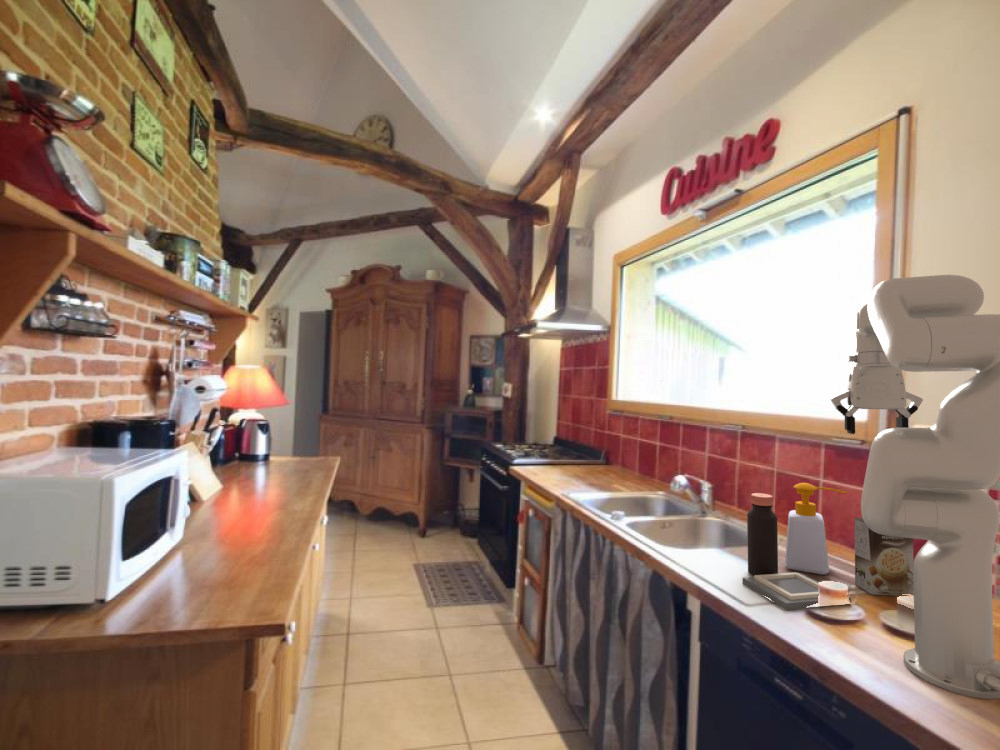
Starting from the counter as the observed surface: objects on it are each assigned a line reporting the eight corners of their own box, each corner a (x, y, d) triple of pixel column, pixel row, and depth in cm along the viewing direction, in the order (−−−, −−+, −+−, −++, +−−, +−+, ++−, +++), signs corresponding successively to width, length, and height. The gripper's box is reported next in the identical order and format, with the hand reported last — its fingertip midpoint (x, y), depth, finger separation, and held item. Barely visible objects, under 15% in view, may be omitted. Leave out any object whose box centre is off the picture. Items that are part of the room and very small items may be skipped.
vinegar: (774, 570, 124) (773, 493, 124) (781, 580, 117) (780, 499, 118) (745, 567, 126) (744, 491, 126) (750, 577, 120) (749, 497, 120)
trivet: (850, 604, 105) (850, 593, 105) (786, 610, 102) (785, 599, 102) (800, 579, 118) (800, 569, 118) (742, 583, 116) (742, 573, 116)
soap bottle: (851, 581, 117) (849, 490, 118) (785, 569, 124) (783, 484, 125) (847, 568, 125) (845, 483, 126) (785, 558, 132) (784, 478, 133)
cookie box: (872, 595, 109) (870, 525, 109) (854, 584, 115) (852, 517, 116) (915, 597, 108) (913, 526, 109) (895, 585, 115) (893, 518, 115)
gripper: (835, 360, 110) (837, 434, 110) (929, 358, 104) (930, 437, 104) (826, 361, 117) (827, 431, 117) (912, 360, 111) (914, 433, 111)
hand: (875, 434), depth 111 cm, fingers open, 9 cm apart
